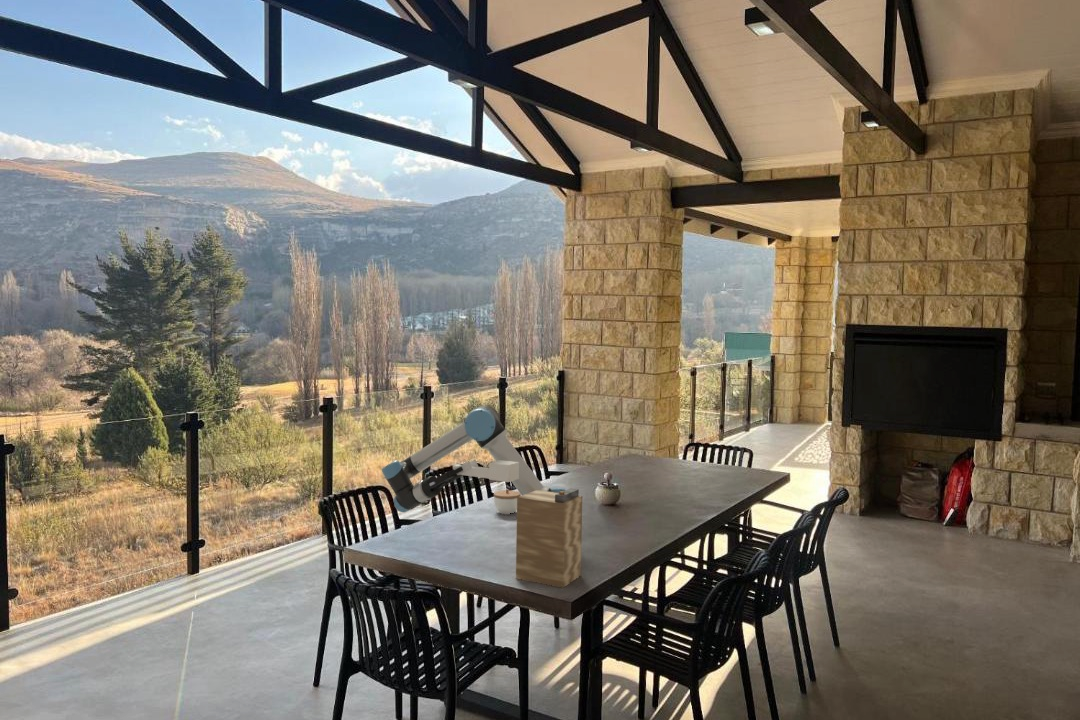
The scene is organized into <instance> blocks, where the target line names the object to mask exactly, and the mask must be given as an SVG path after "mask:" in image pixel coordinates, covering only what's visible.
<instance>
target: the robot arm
mask: <svg viewBox="0 0 1080 720" xmlns="http://www.w3.org/2000/svg"><path fill="white" fill-rule="evenodd" d="M506 432H507V430H506V428H505V427H504V426H503V424H502V423H501V418H500V415H499V412H498V410H496V408H494V407H493V406H489V405H485V404H484V405H480V406H478V407H476V408H473V409H472V410H470V412H469V413H468V414H467V415H466V417H465V418H463V419H462V422H461V423H460V424H459V425H458V426H457V425H456V426H455V427H454V428H453V429H451V430H450V431H449V430H448V432H446V433H445V434H443V435H442V436H441V435H440V437H438V438H436V439H435V440H433V441H432V442H431V443H429V444H428V445H426V446H424V447H423V448H421V449H420V450H418V451H417V452H415V453H413V454H412V455H410V456H408V457H407V458H406V459H404V460H402V461H399V460H397V459H395V460H393V461H392V462H390V463H388V464H387V465H385V466H383V467H382V468H381V473H382V474H383V476H384V478H385V480H386V481H387V483H388V484H389V486H390V487H391V489H392V491H393V493H394V495H395V496H394V497H393V503H394V508H395V509H396V510H397V511H398V512H400V513H406V512H409V511H412V510H413V509H415V508H416V507H418V506H420V505H422V504H423V503H428V502H429V501H430V500H431V499H433V498H435V497H437V496H438V495H440V494H441V492H442V488H444V487H446V486H447V485H448V484H450V483H453V482H455V481H456V480H457V479H459V478H461V477H463V476H464V475H460V474H462V473H463V472H465V471H467V470H469V469H471V468H472V467H471V466H477V467H479V465H478V462H477V460H476V459H473V460H471V461H468V460H467V461H466V462H464V463H462V464H461V465H460V466H459V467H457V468H455V470H454V469H453V468H452V469H451V470H447V472H444V473H443V474H441V475H439V476H437V477H436V476H432V475H431V476H428V477H427V478H424V479H423V480H421V481H419V482H417V483H416V484H413V482H412V480H411V479H412V478H414V477H415V476H416V475H418V474H420V473H421V472H423V471H424V470H426V469H427V468H429V467H430V466H432V465H434V464H435V463H437V462H438V461H441V460H442V459H443V458H445V457H447V456H448V455H450V454H451V453H452V452H454V451H456V450H458V449H460V448H461V447H462V446H464V445H466V444H468V442H470V441H472V440H474V441H475V443H477V445H478V446H479V447H480V448H481V449H482V450H487V451H488V452H489V454H490V455H491V456H492V457H493V459H494V461H498V460H504V461H513V462H519V479H517V480H514V481H511V482H510V483H512V484H513V486H514V487H515V488H516V489H517V490H516V491H517V492H519V493H520V494H521V496H522V495H525V494H528V493H530V492H533V491H536V490H541V491H548V492H556V493H559V492H561V491H566V490H567V489H565V488H563V487H555V486H554V487H553V486H552V487H551V486H544V485H543V484H542V483H541V481H540V480H539V478H538V477H537V475H536V474H535V473H534V472H533V470H532V469H531V468H530V467H529V465H528V464H527V462H526V461H525V460H524V459H523V457H522V456H521V454H520V453H519V452H518V451H517V449H516V448H515V446H514V445H513V443H511V441H510V440H509V439H508V437H507V436H506Z"/></svg>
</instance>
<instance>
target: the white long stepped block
mask: <svg viewBox="0 0 1080 720" xmlns="http://www.w3.org/2000/svg"><path fill="white" fill-rule="evenodd" d="M460 465H462V464H460V463H458V464H457V463H456V464H453V465H452V470H453V469H454V470H455V468H457V467H459V466H460ZM471 467H472V468H471V469H469V470H467V471H465V472H463V473H462V474H460V475H463V476H468V477H475V478H482V479H489V481H496V482H505V483H509V482H510V483H512V482H511V481H514V480H517V479H519V462H513V461H504V460H498V461H496V460H494V461H491V462H489V467H485V466H483V467H482V466H471Z"/></svg>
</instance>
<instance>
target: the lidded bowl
mask: <svg viewBox="0 0 1080 720" xmlns="http://www.w3.org/2000/svg"><path fill="white" fill-rule="evenodd" d="M520 496H522V495H521V494H520V492H519V491H518V490H510V489H508V488H505V490H498V491H495V492H494V493H493V504H494V507H495V509H496V510H497V511H498V512H500V513H502V514H501V515H511V514H510V513H514V512H515V513H516V512H517V497H520ZM500 513H499V514H500ZM515 513H514V514H515Z"/></svg>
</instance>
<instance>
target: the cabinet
mask: <svg viewBox="0 0 1080 720" xmlns="http://www.w3.org/2000/svg"><path fill="white" fill-rule="evenodd" d="M565 490H566V491H561V492H559V493H556V492H548V491H541V490H536V491H533V492H530V493H528V494H525V495H521V496H520V497H517V510H516V543H515V544H516V547H515V548H516V551H515V553H516V556H515V557H516V558H515V579H516V578H517V579H518V580H521V579H522V581H527V582H531V581H532V583H536V582H537V584H541V583H542V585H546V584H547V586H551V585H552V586H553V587H556V586H558V587H557V588H561V587H562V589H563V588H565V587H566V586H568V585H569V584H571V583H572V582H574V581H576V580H577V579H578V578H580V577H582V536H583V535H582V533H583V530H582V529H583V528H582V527H583V525H582V524H583V496H582V495H579V488H572V487H571V488H568V489H565ZM579 576H580V577H579ZM576 578H577V579H576ZM570 582H571V583H570Z"/></svg>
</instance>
